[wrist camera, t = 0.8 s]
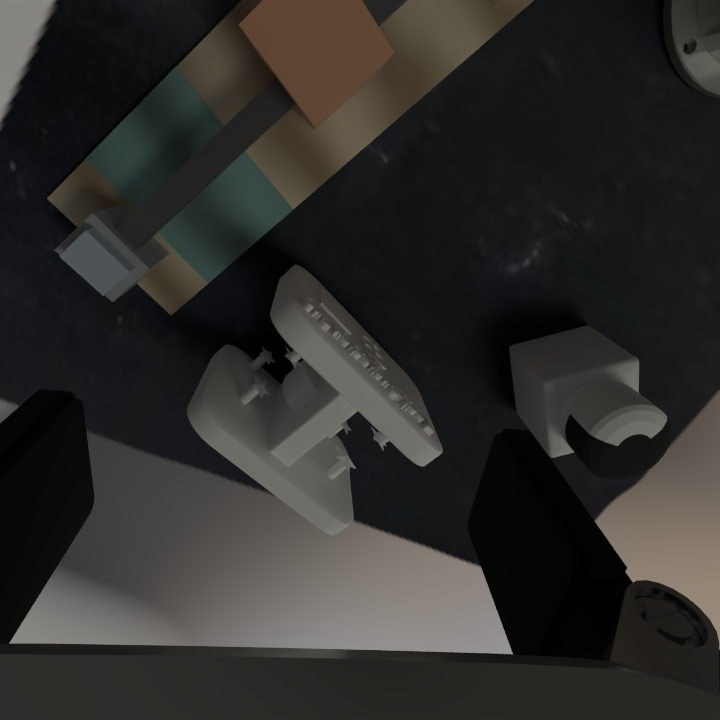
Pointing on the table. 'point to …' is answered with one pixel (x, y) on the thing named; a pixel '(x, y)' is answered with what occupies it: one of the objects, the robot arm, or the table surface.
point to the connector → (109, 253)
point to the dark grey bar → (221, 151)
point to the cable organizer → (309, 404)
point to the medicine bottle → (588, 402)
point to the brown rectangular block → (318, 50)
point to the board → (273, 149)
